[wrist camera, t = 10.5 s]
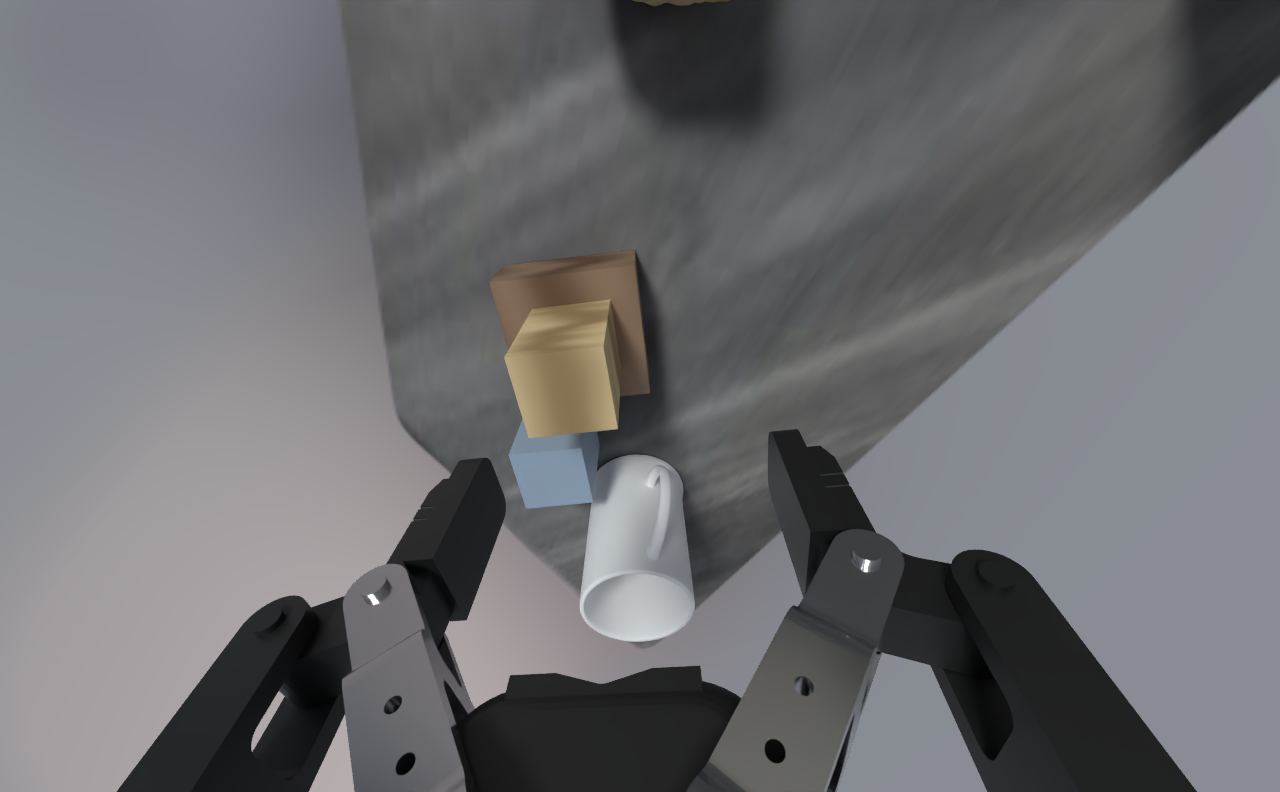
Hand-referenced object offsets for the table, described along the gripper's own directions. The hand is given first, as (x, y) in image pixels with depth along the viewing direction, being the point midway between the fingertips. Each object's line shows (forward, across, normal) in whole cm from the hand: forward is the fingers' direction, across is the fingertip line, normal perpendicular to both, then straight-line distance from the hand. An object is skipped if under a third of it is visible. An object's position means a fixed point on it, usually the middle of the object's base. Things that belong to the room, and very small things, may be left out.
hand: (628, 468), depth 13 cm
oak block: (+17, +4, +3) cm, 18 cm away
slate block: (+21, +8, +12) cm, 26 cm away
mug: (+21, +2, +19) cm, 29 cm away
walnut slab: (+21, +5, +3) cm, 22 cm away
